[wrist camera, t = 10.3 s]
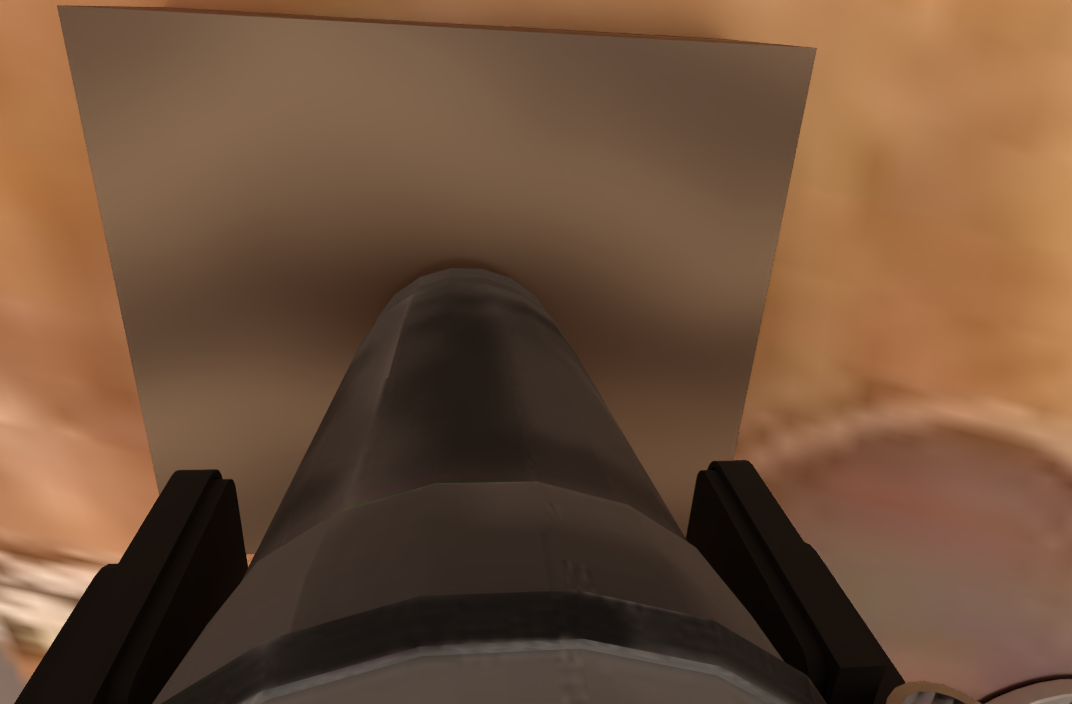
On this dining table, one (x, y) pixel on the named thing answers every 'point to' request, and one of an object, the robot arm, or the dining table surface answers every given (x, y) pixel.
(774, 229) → the walnut shelf
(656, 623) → the beverage cup
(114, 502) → the dining table surface
